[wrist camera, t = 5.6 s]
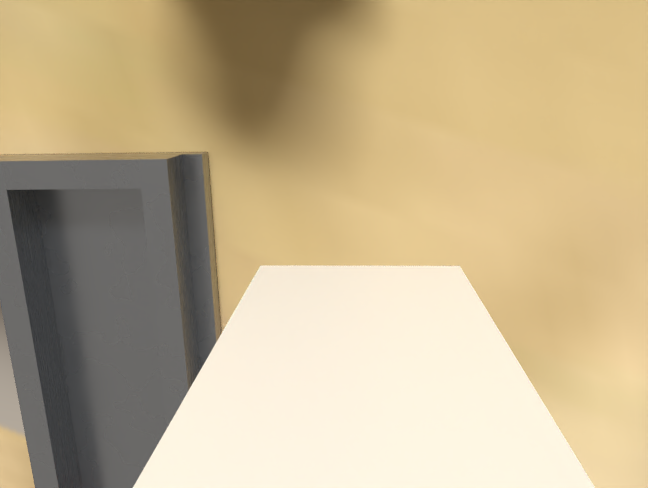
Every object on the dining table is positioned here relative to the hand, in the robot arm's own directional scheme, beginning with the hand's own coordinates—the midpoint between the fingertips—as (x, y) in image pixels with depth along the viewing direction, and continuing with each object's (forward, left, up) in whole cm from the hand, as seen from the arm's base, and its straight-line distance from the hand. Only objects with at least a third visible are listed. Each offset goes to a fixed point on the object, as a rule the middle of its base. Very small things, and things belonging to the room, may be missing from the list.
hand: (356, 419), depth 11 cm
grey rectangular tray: (+7, -12, -15) cm, 20 cm away
